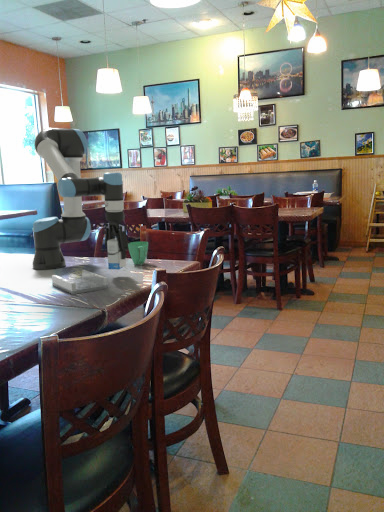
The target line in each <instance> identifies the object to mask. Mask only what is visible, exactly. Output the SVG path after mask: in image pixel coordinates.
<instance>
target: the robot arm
mask: <svg viewBox="0 0 384 512" xmlns="http://www.w3.org/2000/svg"><path fill="white" fill-rule="evenodd" d="M34 150H35V152H36V154H37V155H38V156H39V157H40V158H41V159H43V161H45V163H46V164H47V166H48V168H50V169H49V170H51V172H52V173H53V175H54V176H55V178H56V179H57V185H56V187H57V188H56V189H57V191H58V195H59V196H60V197H62V198H63V213H61V214H60V219H59V217H58V216H50V217H43V218H40V219H37V220H35V221H34V222H33V224H32V233H33V243H34V257H33V260H32V269H34V270H51V269H52V270H54V269H59V268H63V267H65V266H66V265H67V264H66V263H67V262H66V259H65V257H64V255H63V252H62V249H61V244H68V243H79V242H83V241H86V240H88V238H89V237H90V234H91V229H92V228H91V226H92V225H91V221H90V219H89V217H87V216H86V213H85V212H84V211H83V201H82V199H83V198H82V197H95V196H96V197H97V196H99V197H100V196H104V204H103V205H104V209H105V212H104V213H105V214H104V216H105V221H106V223H104V226H105V233H104V237H105V238H104V246H106V247H107V241H108V240H111V239H114V238H116V239H117V241H118V246H119V251H118V252H119V267H122V268H125V267H127V259H126V258H127V256H126V255H127V254H126V253H127V251H129V248H128V244H129V242H128V236H127V227H126V225H123V224H122V221H124V220H125V212H124V210H125V208H124V207H125V205H124V204H125V203H124V181H123V174H122V172H105V173H103V177H102V176H97V177H82V176H81V161H82V160H83V159H84V155H85V154H87V151H88V140H87V138H86V135H85V133H84V132H83V131H82V129H78V128H65V127H64V128H59V127H47V128H43V129H42V130H40V131H39V132H38V133H37V135H36V137H35V139H34ZM107 222H108V223H107Z"/></svg>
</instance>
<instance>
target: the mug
mask: <svg viewBox="0 0 384 512" xmlns="http://www.w3.org/2000/svg"><path fill="white" fill-rule="evenodd" d="M148 250H149V242H148V241H133V242H128V252H129V254H130V257H131V259H132V263H133V264H134V265H138V264H139V265H144V264H145V262H146V258H147V255H148ZM143 263H144V264H143ZM139 265H138V266H139Z"/></svg>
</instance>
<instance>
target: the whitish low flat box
mask: <svg viewBox="0 0 384 512" xmlns="http://www.w3.org/2000/svg"><path fill="white" fill-rule="evenodd" d="M51 282H52V286H53V287H54V288H55V287H56V288H57V287H58V289H59V288H60V289H59V290H61V291H64V292H66V291H67V292H66V293H68V292H69V293H68V294H70V293H71V294H70V295H72V294H74V295H78V294H77V293H79V294H83V293H88V292H93V291H99V290H106V289H109V285H108V277H106V276H104V275H101V274H98V273H95V272H92V271H89V270H86V269H82V270H81V277H76V278H70V279H67V278H64V277H62V276H60V275H57V274H51Z"/></svg>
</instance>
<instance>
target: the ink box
mask: <svg viewBox="0 0 384 512" xmlns="http://www.w3.org/2000/svg"><path fill="white" fill-rule="evenodd" d="M106 248H107V263H108V268H107V269H108V270H121V269H122V268H123V267H119V252H118V251H119V246H118V241H117V239H116V237H115V238H114V239H111V240H108V241H107V246H106Z"/></svg>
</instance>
